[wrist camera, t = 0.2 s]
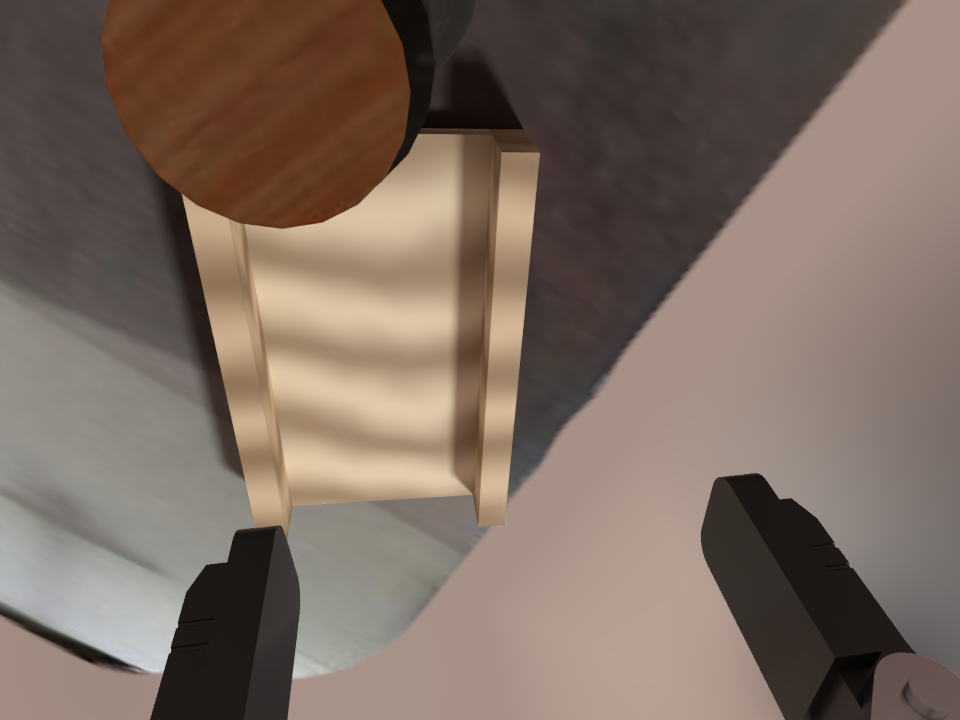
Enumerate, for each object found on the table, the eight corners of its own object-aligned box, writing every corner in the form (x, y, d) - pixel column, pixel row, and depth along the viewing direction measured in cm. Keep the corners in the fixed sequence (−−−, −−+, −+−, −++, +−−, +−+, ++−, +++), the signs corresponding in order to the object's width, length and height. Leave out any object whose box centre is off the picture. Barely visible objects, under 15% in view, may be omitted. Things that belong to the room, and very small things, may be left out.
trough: (194, 125, 34) (172, 149, 31) (523, 129, 37) (539, 152, 33) (267, 496, 50) (258, 541, 46) (495, 482, 52) (504, 524, 49)
